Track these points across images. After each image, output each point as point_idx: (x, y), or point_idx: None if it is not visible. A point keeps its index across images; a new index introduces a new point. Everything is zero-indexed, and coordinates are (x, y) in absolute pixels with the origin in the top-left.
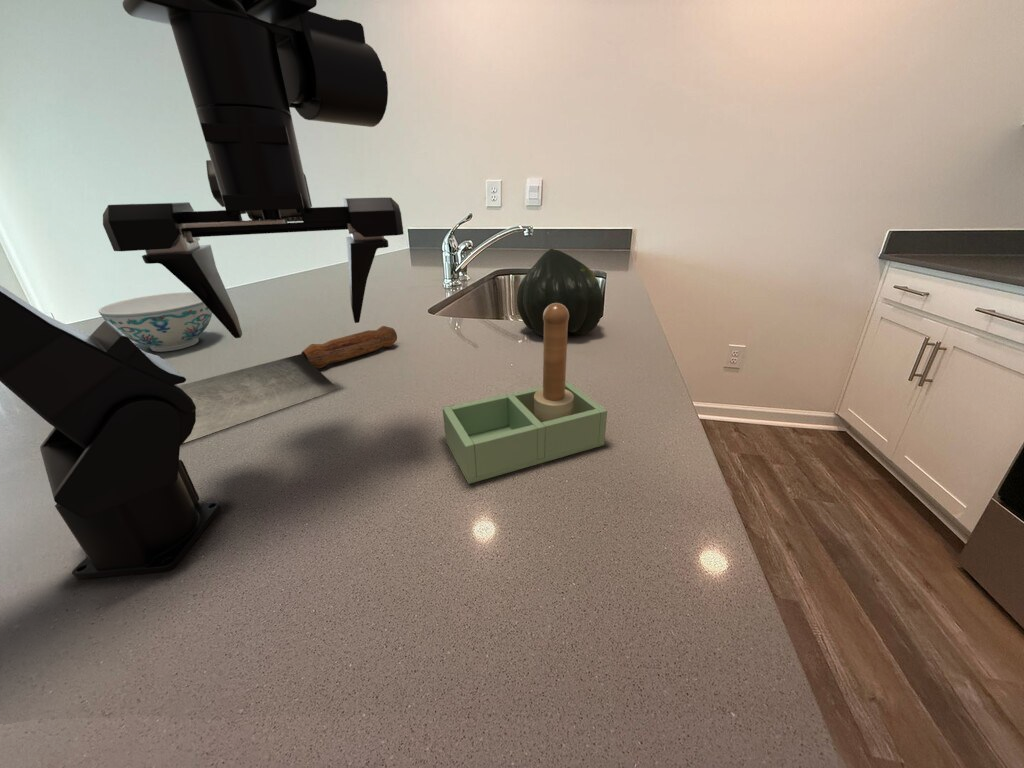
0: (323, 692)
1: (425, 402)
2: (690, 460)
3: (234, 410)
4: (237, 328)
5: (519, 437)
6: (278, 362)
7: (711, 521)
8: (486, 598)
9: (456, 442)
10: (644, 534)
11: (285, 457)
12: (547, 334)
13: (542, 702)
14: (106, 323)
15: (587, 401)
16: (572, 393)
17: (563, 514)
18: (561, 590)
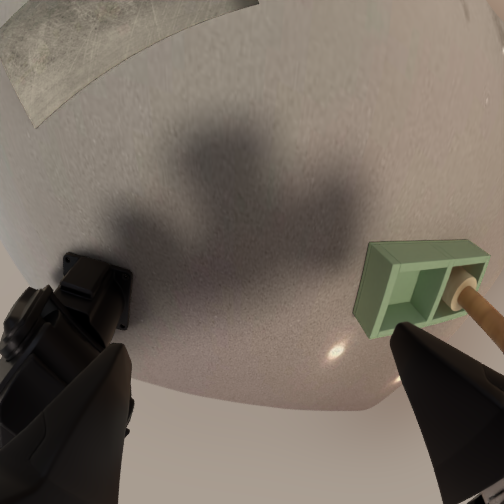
0: (233, 399)
1: (383, 128)
2: (459, 322)
3: (93, 43)
4: (127, 382)
5: None
6: None
7: None
8: (312, 383)
9: (371, 304)
10: None
11: (178, 195)
12: (497, 342)
13: (307, 409)
14: (15, 436)
15: None
16: (478, 275)
17: (380, 349)
18: (343, 384)
